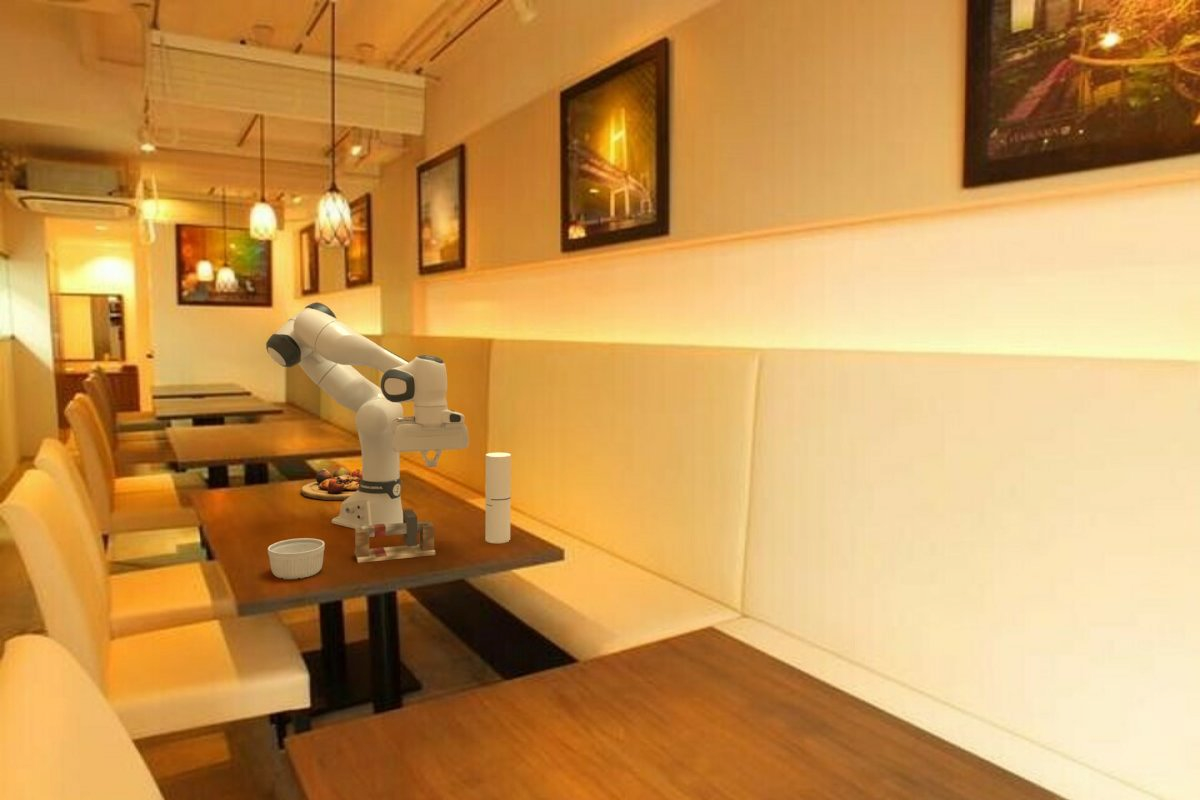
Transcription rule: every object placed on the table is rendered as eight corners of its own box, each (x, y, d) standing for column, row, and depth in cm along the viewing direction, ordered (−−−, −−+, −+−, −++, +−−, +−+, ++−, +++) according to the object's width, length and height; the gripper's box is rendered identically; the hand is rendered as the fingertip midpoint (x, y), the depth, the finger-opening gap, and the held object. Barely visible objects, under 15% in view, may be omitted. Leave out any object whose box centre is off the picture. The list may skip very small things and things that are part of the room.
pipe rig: (357, 562, 198) (357, 531, 197) (354, 554, 205) (354, 523, 205) (435, 554, 206) (435, 524, 205) (429, 546, 213) (429, 517, 212)
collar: (407, 546, 203) (407, 517, 202) (403, 538, 210) (402, 510, 209) (417, 545, 204) (417, 516, 203) (412, 537, 211) (412, 509, 210)
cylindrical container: (505, 544, 217) (506, 457, 214) (481, 542, 218) (482, 456, 216) (513, 537, 224) (514, 453, 221) (490, 535, 225) (490, 451, 223)
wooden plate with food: (360, 505, 260) (360, 481, 259) (281, 496, 268) (281, 473, 268) (409, 488, 290) (409, 466, 290) (336, 481, 299) (336, 460, 298)
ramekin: (256, 576, 186) (255, 549, 186) (295, 561, 199) (294, 535, 198) (299, 584, 182) (298, 556, 181) (336, 568, 194) (336, 541, 193)
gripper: (392, 418, 199) (393, 471, 200) (470, 415, 207) (470, 466, 208) (389, 416, 204) (390, 466, 206) (465, 413, 212) (465, 462, 214)
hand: (431, 466), depth 207 cm, fingers closed
